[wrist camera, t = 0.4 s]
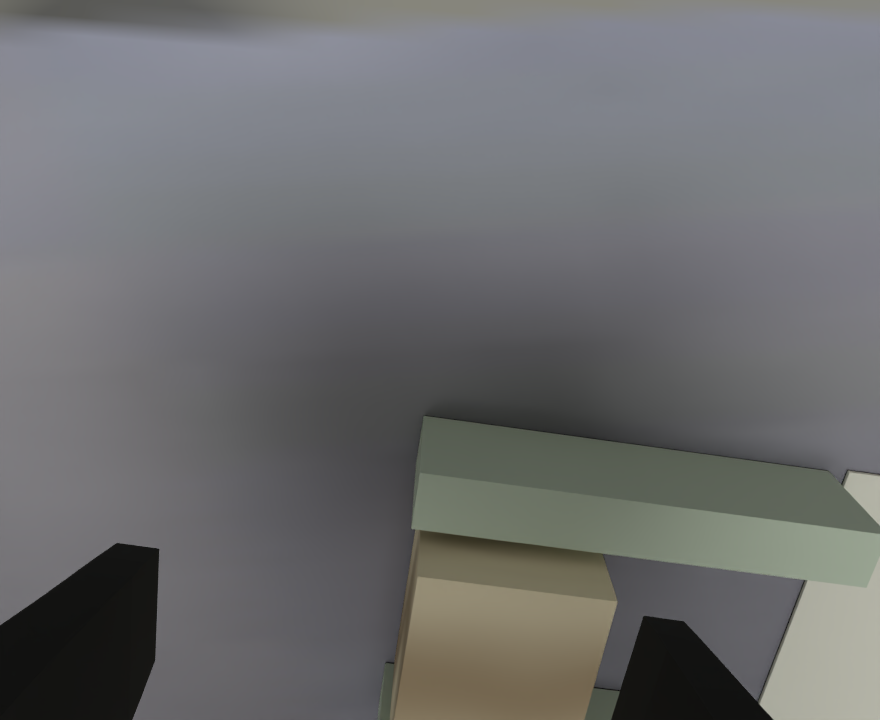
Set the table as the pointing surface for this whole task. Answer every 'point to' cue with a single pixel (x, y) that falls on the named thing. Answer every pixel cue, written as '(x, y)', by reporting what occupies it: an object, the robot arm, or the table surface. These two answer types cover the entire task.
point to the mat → (831, 642)
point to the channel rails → (637, 508)
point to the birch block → (499, 630)
